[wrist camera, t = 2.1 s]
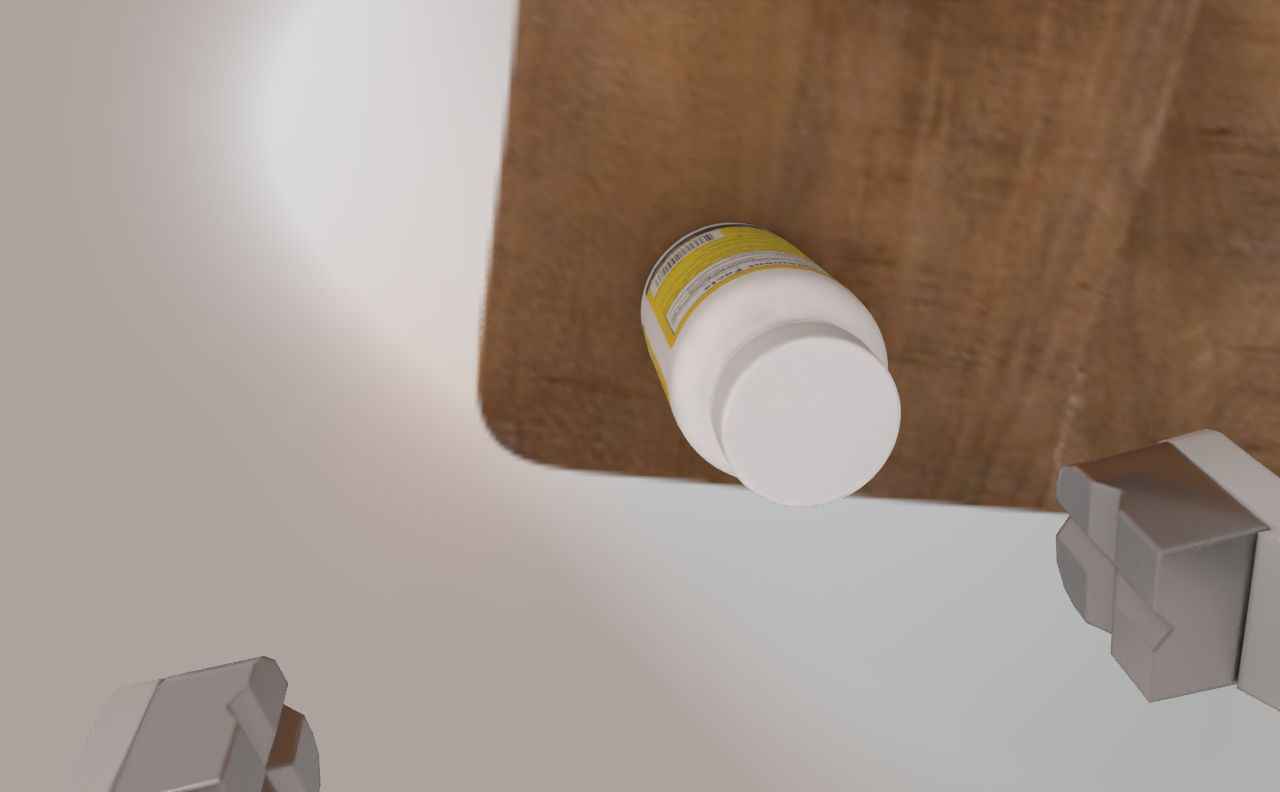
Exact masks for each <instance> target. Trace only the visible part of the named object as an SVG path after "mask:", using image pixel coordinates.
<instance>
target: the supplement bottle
mask: <svg viewBox="0 0 1280 792" xmlns="http://www.w3.org/2000/svg"><path fill="white" fill-rule="evenodd" d="M641 324H642V330H643V335H644V339H645V342H646V345H647V348H648V351H649V354H650V356H651V359H652V361H653V364H654V366H655V369H656V371H657V374H658V377H659V379H660V382H661V384H662V387H663V389H664V392H665V394H666V397H667V400H668V402H669V405H670V407H671V410H672V412H673V415H674V417H675V420H676V422H677V424H678V426H679V428H680V429H681V431H682V433H683V435H684V436H685V438H686V439H687V441H688V442H689V443H690V445H691V446H692V447H693V448H694V449H695V450H696V452H697V453H698V454H700V455H701V456H702V457H703V458H704V459H705V460H706V461H708V462H709V463H710V464H712V465H713V466H715V467H716V468H718V469H720V470H722V471H724V472H726V473H728V474H730V475H732V476H735V477H737V478H738V479H739V480H740V481H741V482H742V483H743V484H744V485H745V486H746V487H747V488H748V489H750V490H751V491H752V492H754V493H755V494H757V495H758V496H760V497H762V498H764V499H766V500H768V501H771V502H774V503H777V504H781V505H785V506H792V507H812V506H819V505H824V504H829V503H832V502H834V501H837V500H840V499H842V498H844V497H846V496H848V495H850V494H852V493H854V492H855V491H857V490H858V489H860V488H861V487H862V486H863V485H865V484H866V483H867V482H868V481H870V480H871V479H872V478H873V477H874V476H875V475H876V473H877V472H878V471H879V470H880V469H881V468H882V466H883V465H884V463H885V462H886V460H887V459H888V457H889V455H890V453H891V451H892V449H893V447H894V445H895V442H896V439H897V436H898V431H899V427H900V419H901V406H900V399H899V394H898V391H897V388H896V385H895V383H894V380H893V378H892V376H891V374H890V373H889V371H888V360H887V353H886V348H885V344H884V341H883V337H882V334H881V332H880V330H879V328H878V325H877V324H876V322H875V320H874V319H873V317H872V315H871V314H870V313H869V311H868V310H867V308H866V307H865V306H864V305H863V304H862V303H861V302H860V301H859V300H858V299H857V297H856V296H855V295H854V294H852V293H851V292H850V291H849V290H848V289H847V288H845V287H844V286H843V285H842V284H840V283H839V282H838V281H837V280H836V279H834V278H833V277H832V276H831V275H829V274H828V273H827V272H826V271H824V270H823V269H822V268H821V267H819V266H818V265H817V264H816V263H814V262H813V261H812V260H811V259H809V258H808V257H807V256H806V255H804V254H803V253H802V252H801V251H799V250H798V249H797V248H796V247H794V246H793V245H792V244H790V243H789V242H788V241H786V240H785V239H783V238H782V237H780V236H778V235H777V234H775V233H773V232H771V231H769V230H767V229H764V228H761V227H758V226H755V225H750V224H746V223H720V224H714V225H710V226H706V227H703V228H700V229H698V230H696V231H693V232H691V233H689V234H688V235H686V236H684V237H682V238H681V239H680V240H678V241H677V242H676V243H674V244H673V245H672V246H671V247H670V248H669V249H668V250H667V251H666V252H665V253H664V254H663V255H662V256H661V258H660V259H659V260H658V262H657V263H656V264H655V266H654V268H653V269H652V271H651V273H650V275H649V277H648V280H647V282H646V285H645V288H644V292H643V296H642V302H641Z"/></svg>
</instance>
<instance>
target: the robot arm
mask: <svg viewBox="0 0 1280 792" xmlns="http://www.w3.org/2000/svg"><path fill="white" fill-rule="evenodd" d="M1056 500H1057V501H1058V502H1059V504H1060V505H1061V506H1062V507H1063V508H1064V509H1065V511H1066V512H1067V513H1068V514H1069V515H1070V516H1069V517H1068V519H1067V520H1066V522H1065V523H1064V525H1063V526H1062V527H1061V529H1060V530H1059V532H1058V533H1057V535H1056V548H1057V564H1058V567H1059V571H1060V574H1061V578H1062V581H1063V585H1064V588H1065V589H1066V592H1067V594H1068V595H1069V597H1070V599H1071V601H1072V603H1073V605H1074V607H1075V608H1076V609H1077V611H1078V612H1079V613H1080V614H1081V616H1082V617H1083V618H1084V620H1085V621H1086V622H1087V623H1088V624H1090V625H1093V626H1095V627H1097V628H1100V629H1102V630H1104V631H1106V632H1109V633H1111V634H1112V641H1111V655H1112V656H1113V657H1114V658H1115V660H1116V661H1117V662H1118V664H1119V665H1120V666H1121V667H1122V669H1123V670H1124V671H1125V672H1126V674H1127V675H1128V676H1129V677H1130V679H1131V680H1132V681H1133V682H1134V684H1135V685H1136V686H1137V688H1138V689H1139V690H1140V691H1141V692H1142V694H1143V695H1144V696H1145V698H1146V699H1147V700H1148V701H1149V703H1151V702H1155V701H1160V700H1165V699H1169V698H1174V697H1179V696H1183V695H1188V694H1193V693H1197V692H1202V691H1206V690H1211V689H1216V688H1221V687H1225V686H1230V685H1235V684H1237V688H1238V689H1239V690H1241V691H1243V692H1245V693H1247V694H1249V695H1250V696H1252V697H1254V698H1256V699H1258V700H1260V701H1262V702H1263V703H1265V704H1267V705H1269V706H1271V707H1273V708H1274V709H1277V710H1278V711H1280V478H1279V477H1277V476H1276V475H1275V474H1274V473H1272V472H1271V471H1270V470H1268V469H1267V468H1266V467H1265V466H1263V465H1262V464H1261V463H1259V462H1258V461H1257V460H1256V459H1254V458H1253V457H1252V456H1250V455H1249V454H1248V453H1246V452H1245V451H1244V450H1243V449H1241V448H1240V447H1239V446H1237V445H1236V444H1235V443H1234V442H1232V441H1231V440H1230V439H1228V438H1227V437H1226V436H1225V435H1223V434H1222V433H1220V432H1217V431H1214V430H1210V429H1204V430H1200V431H1196V432H1192V433H1188V434H1185V435H1181V436H1177V437H1173V438H1169V439H1166V440H1162V441H1159V442H1158V443H1157V444H1152V445H1148V446H1144V447H1140V448H1136V449H1132V450H1128V451H1123V452H1119V453H1115V454H1111V455H1107V456H1103V457H1099V458H1095V459H1091V460H1087V461H1082V462H1078V463H1074V464H1070V465H1066V466H1062V468H1061V470H1060V473H1059V476H1058V478H1057V499H1056ZM287 687H288V682H287V681H286V679H285V677H284V676H283V674H282V672H281V670H280V668H279V667H278V665H277V663H276V661H275V660H273V659H270V658H268V657H265V656H262V657H257V658H253V659H248V660H243V661H239V662H234V663H230V664H225V665H220V666H215V667H211V668H206V669H202V670H197V671H192V672H188V673H183V674H178V675H174V676H169V677H167V678H166V679H158V680H153V681H149V682H144V683H140V684H136V685H131V686H127V687H122V688H119V689H118V690H116V691H115V692H113V693H112V694H111V695H109V696H108V697H107V698H106V700H105V702H104V704H103V706H102V708H101V710H100V712H99V714H98V717H97V718H96V721H95V723H94V725H93V727H92V729H91V731H90V733H89V735H88V737H87V739H86V741H85V744H84V746H83V748H82V750H81V752H80V754H79V756H78V758H77V761H76V763H75V765H74V767H73V769H72V771H71V773H70V775H69V777H68V779H67V781H66V783H65V786H64V788H63V790H62V792H319V789H320V769H319V753H318V750H317V746H316V743H315V740H314V736H313V732H312V730H311V729H310V726H309V724H308V722H307V720H306V718H305V716H304V715H303V714H301V713H299V712H297V711H295V710H293V709H291V708H290V707H288V706H286V705H284V704H283V703H284V698H285V694H286V691H287Z"/></svg>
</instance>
